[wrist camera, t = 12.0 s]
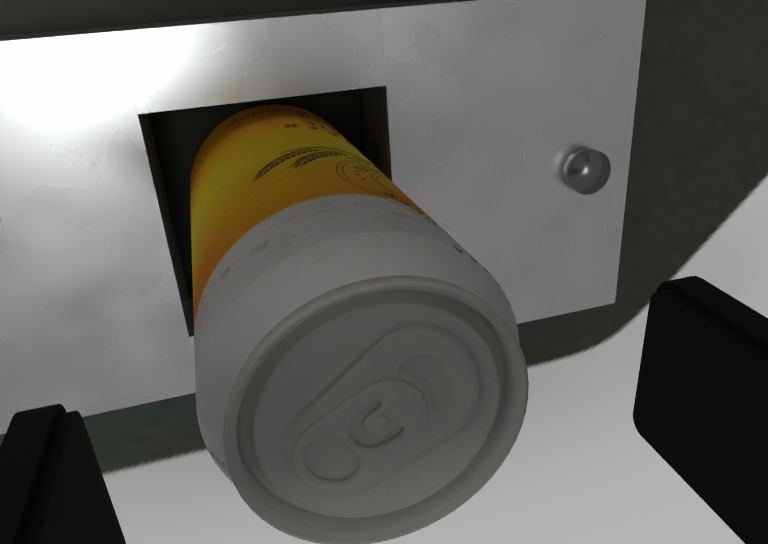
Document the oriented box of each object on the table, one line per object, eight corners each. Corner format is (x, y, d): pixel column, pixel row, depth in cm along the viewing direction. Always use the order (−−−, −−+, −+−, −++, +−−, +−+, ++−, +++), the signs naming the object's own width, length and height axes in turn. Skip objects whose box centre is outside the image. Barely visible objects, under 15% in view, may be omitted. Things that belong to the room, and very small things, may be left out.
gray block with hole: (588, -14, 24) (659, -15, 20) (569, 269, 29) (623, 309, 26) (-207, 53, 18) (-304, 68, 15) (-56, 393, 23) (-100, 466, 20)
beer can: (381, 194, 25) (599, 420, 12) (260, 286, 25) (344, 612, 12) (289, 65, 22) (441, 177, 9) (152, 170, 22) (107, 431, 9)
